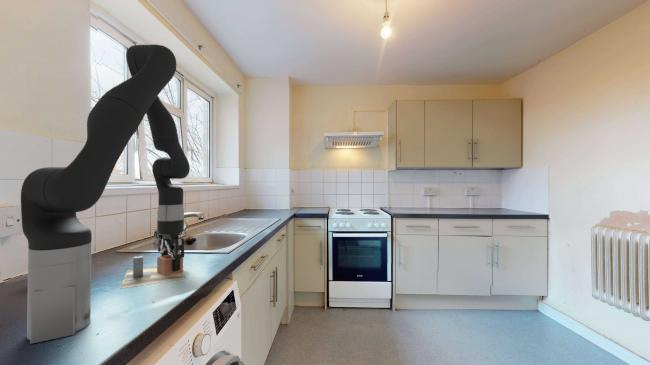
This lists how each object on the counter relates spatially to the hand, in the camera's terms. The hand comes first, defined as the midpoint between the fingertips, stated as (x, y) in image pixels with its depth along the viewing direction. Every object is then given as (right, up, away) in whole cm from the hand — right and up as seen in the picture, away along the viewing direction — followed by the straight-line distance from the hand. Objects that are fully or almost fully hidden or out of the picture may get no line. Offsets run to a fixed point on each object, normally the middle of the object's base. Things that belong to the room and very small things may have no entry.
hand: (170, 268), depth 86 cm
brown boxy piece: (0, -1, 0) cm, 1 cm away
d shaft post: (-7, -2, -4) cm, 9 cm away
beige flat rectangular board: (-3, -2, -2) cm, 5 cm away
